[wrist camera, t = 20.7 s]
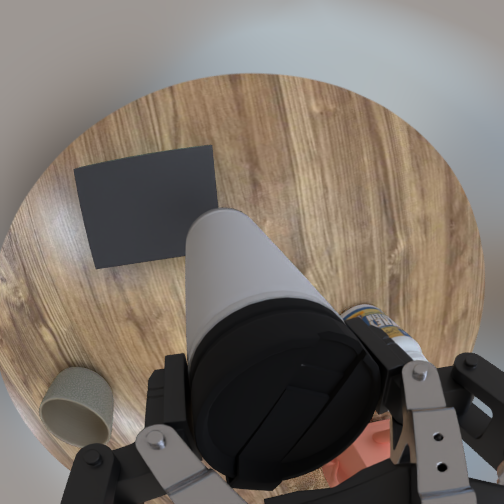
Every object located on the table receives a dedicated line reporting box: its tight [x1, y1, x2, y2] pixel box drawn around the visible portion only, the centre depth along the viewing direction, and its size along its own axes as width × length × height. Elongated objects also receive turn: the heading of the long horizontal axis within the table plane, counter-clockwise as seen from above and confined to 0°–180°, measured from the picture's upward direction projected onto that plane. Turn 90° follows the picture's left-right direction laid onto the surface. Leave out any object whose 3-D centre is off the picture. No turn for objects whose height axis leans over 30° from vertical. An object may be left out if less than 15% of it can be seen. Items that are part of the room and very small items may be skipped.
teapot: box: [322, 419, 390, 488], centre depth 58 cm, size 25×23×18 cm
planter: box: [39, 367, 114, 448], centre depth 42 cm, size 12×12×11 cm
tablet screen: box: [74, 145, 218, 269], centre depth 39 cm, size 14×18×1 cm
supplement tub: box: [340, 304, 428, 362], centre depth 47 cm, size 12×12×17 cm
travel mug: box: [185, 208, 381, 491], centre depth 17 cm, size 6×7×20 cm
